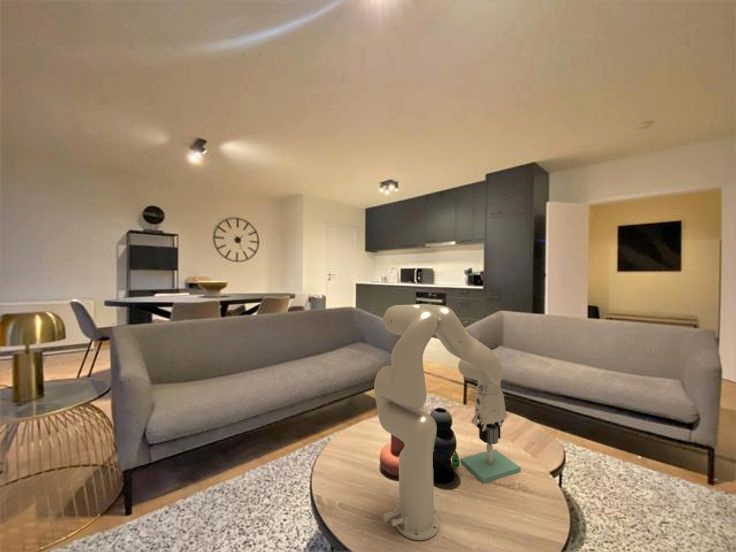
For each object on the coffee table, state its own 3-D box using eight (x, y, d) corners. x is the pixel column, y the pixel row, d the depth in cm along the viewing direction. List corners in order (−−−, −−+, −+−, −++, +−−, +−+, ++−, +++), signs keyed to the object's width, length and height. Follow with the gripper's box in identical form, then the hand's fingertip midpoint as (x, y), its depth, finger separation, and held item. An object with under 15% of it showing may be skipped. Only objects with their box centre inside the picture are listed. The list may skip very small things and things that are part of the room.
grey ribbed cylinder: (489, 445, 109) (489, 431, 109) (478, 437, 114) (478, 424, 114) (501, 442, 111) (501, 428, 110) (490, 434, 116) (490, 421, 115)
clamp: (432, 485, 110) (423, 466, 107) (429, 470, 115) (420, 452, 113) (465, 474, 108) (456, 454, 106) (460, 459, 114) (451, 440, 112)
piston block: (483, 483, 104) (482, 457, 104) (460, 462, 115) (460, 439, 115) (520, 471, 109) (520, 447, 109) (495, 452, 121) (495, 430, 120)
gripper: (476, 396, 105) (477, 449, 106) (516, 388, 111) (516, 439, 112) (462, 388, 112) (463, 438, 113) (500, 381, 118) (501, 428, 119)
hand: (489, 438), depth 112 cm, fingers closed on grey ribbed cylinder, 5 cm apart
